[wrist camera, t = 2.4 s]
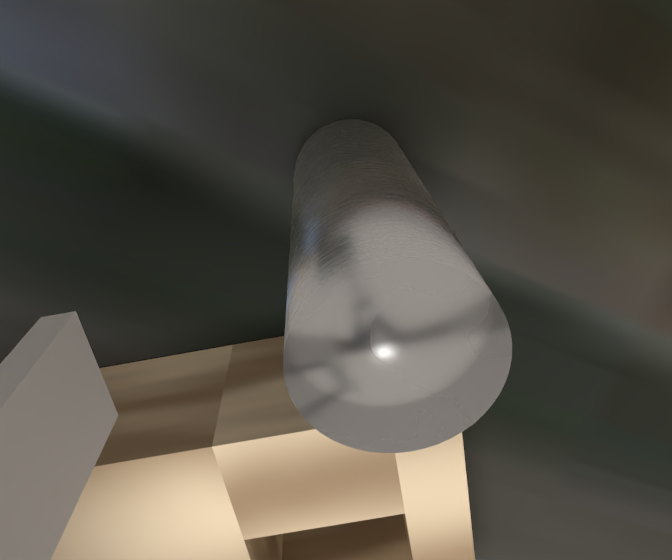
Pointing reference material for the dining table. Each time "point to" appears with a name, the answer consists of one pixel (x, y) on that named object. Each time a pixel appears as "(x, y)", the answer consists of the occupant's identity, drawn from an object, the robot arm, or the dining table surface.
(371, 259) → the peg
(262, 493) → the socket block
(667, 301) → the dining table surface
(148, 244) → the dining table surface
